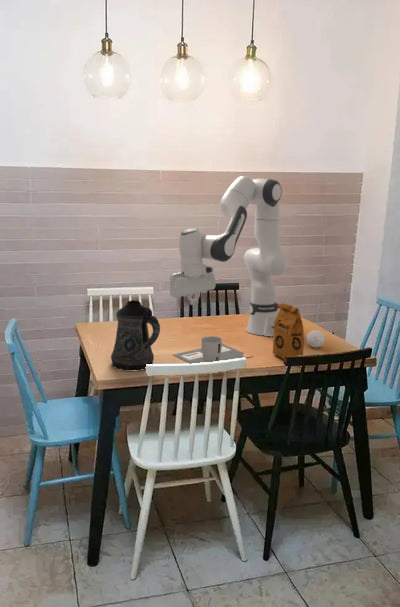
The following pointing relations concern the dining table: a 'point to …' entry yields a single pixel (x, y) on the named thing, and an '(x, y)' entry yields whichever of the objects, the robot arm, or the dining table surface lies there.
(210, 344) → the cup
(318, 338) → the geometric ball
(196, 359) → the label sheet
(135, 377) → the dining table surface
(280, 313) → the coffee package
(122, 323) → the beer stein
